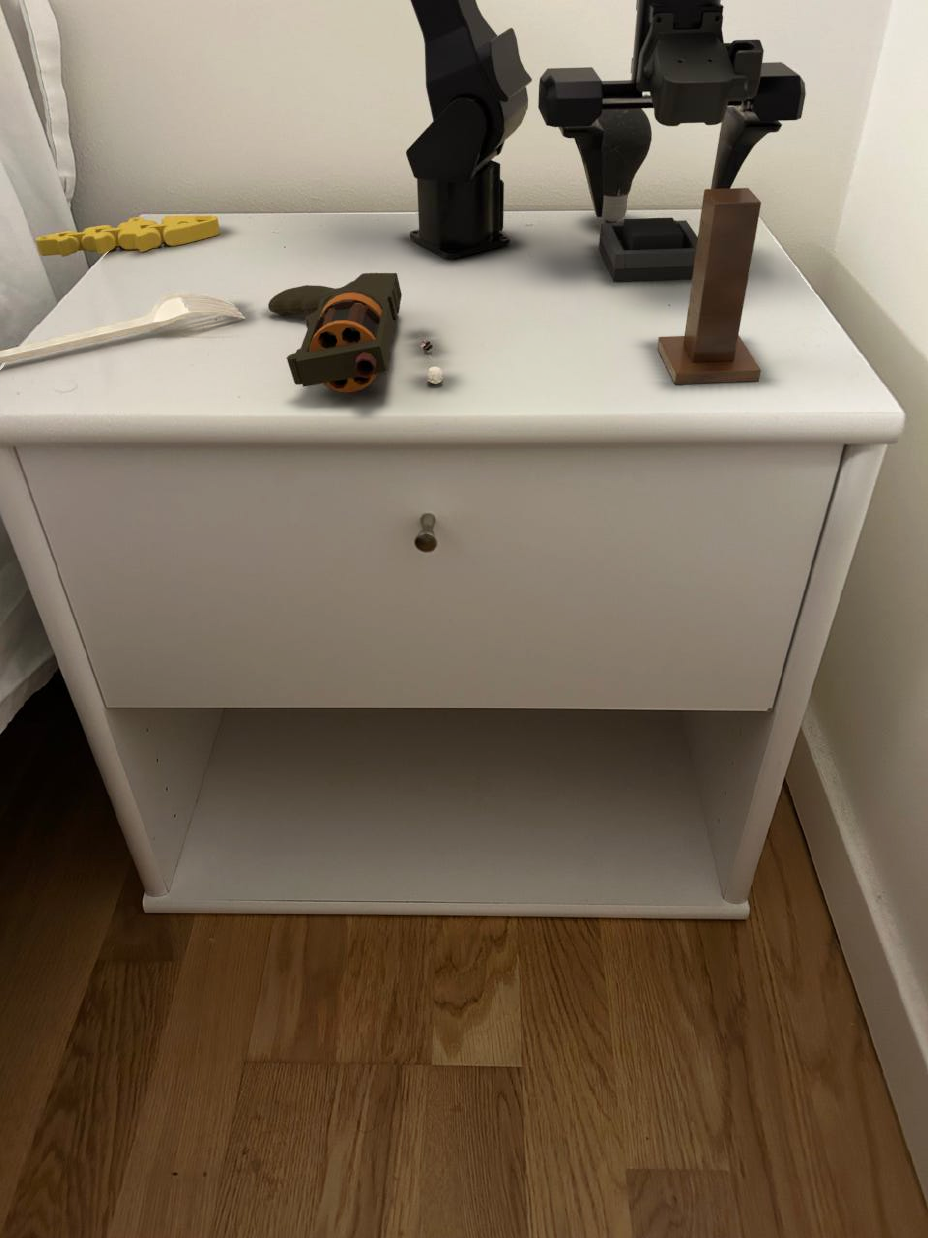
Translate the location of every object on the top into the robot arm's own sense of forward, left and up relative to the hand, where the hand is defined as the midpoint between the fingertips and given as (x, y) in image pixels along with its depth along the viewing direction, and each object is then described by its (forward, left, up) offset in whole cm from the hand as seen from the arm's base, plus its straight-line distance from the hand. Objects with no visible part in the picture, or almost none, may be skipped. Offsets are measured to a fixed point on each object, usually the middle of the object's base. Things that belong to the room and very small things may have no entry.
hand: (656, 213), depth 80 cm
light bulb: (+3, +9, -4) cm, 11 cm away
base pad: (0, 0, -4) cm, 4 cm away
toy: (-33, +32, -3) cm, 46 cm away
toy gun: (-34, +3, -3) cm, 34 cm away
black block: (0, 0, -3) cm, 3 cm away
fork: (-42, +10, -2) cm, 43 cm away
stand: (-9, -16, -4) cm, 19 cm away
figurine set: (-24, -5, -3) cm, 24 cm away
